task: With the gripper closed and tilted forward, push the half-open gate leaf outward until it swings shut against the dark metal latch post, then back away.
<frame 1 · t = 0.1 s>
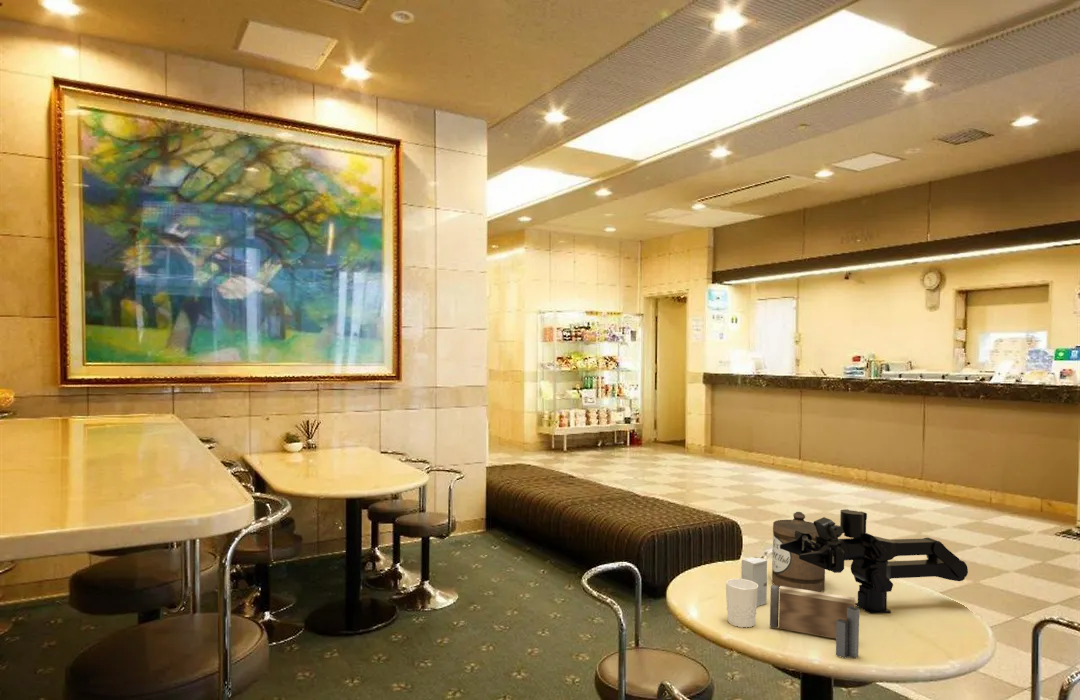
hand: (789, 551, 176), 17 cm above the table, tool horizontal, fingers open, 9 cm apart
wooden container: (797, 586, 198), on the table
gate leaf: (811, 612, 163), point 6 cm above the table, hinge at 25.0°
skincare box: (753, 604, 183), on the table
white cup: (741, 623, 169), on the table
latch post: (852, 656, 151), on the table
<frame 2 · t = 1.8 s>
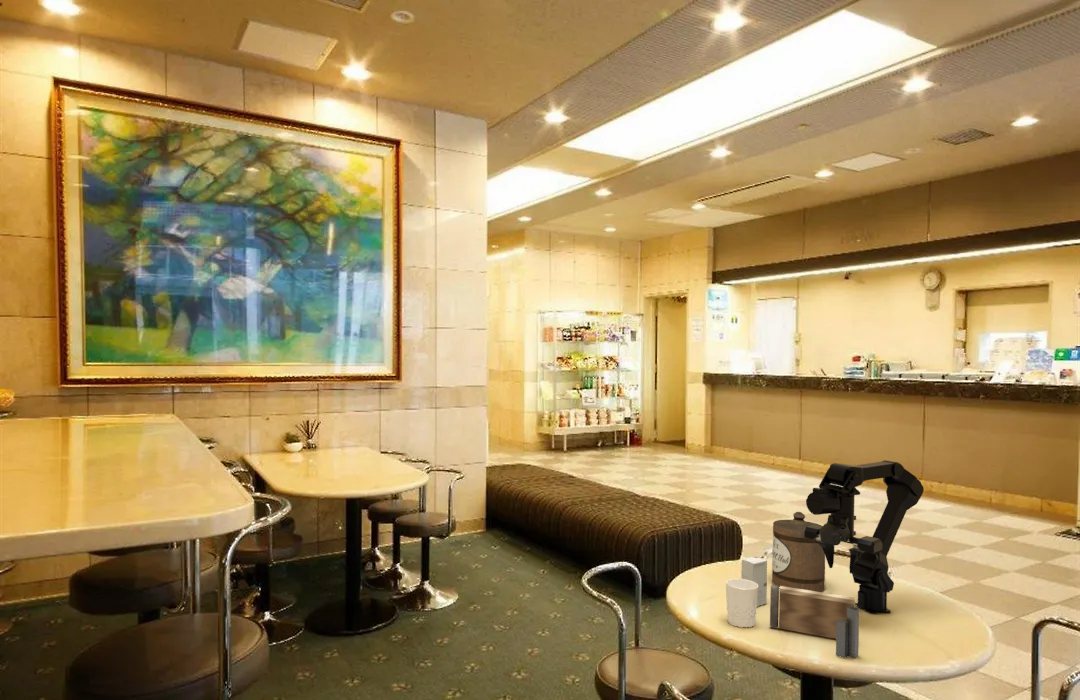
hand: (841, 570, 175), 12 cm above the table, tool pointing down, fingers open, 5 cm apart
nothing on the table moved.
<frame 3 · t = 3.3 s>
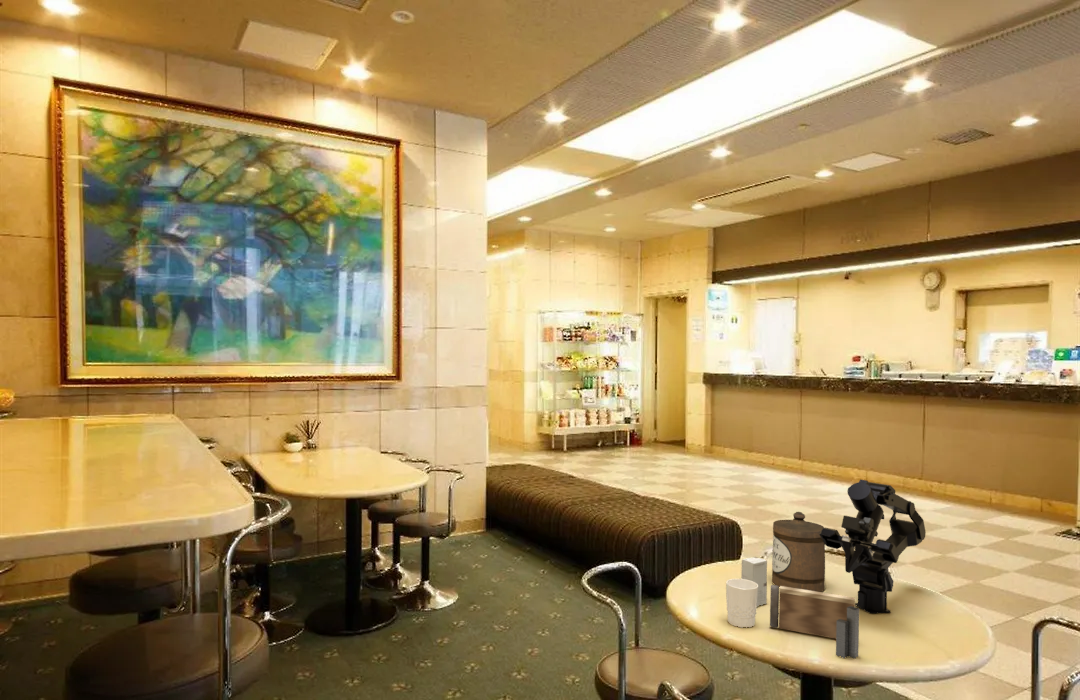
hand: (847, 571, 171), 13 cm above the table, tool tilted 45°, fingers closed
nothing on the table moved.
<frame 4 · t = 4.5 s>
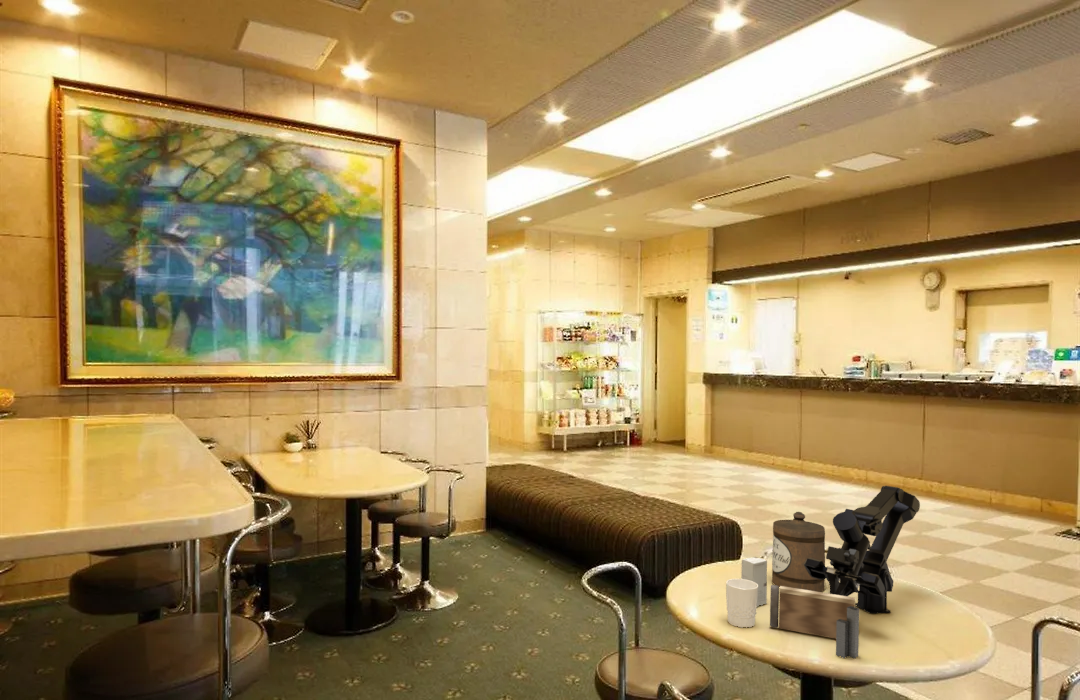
hand: (831, 604, 165), 7 cm above the table, tool tilted 45°, fingers closed
nothing on the table moved.
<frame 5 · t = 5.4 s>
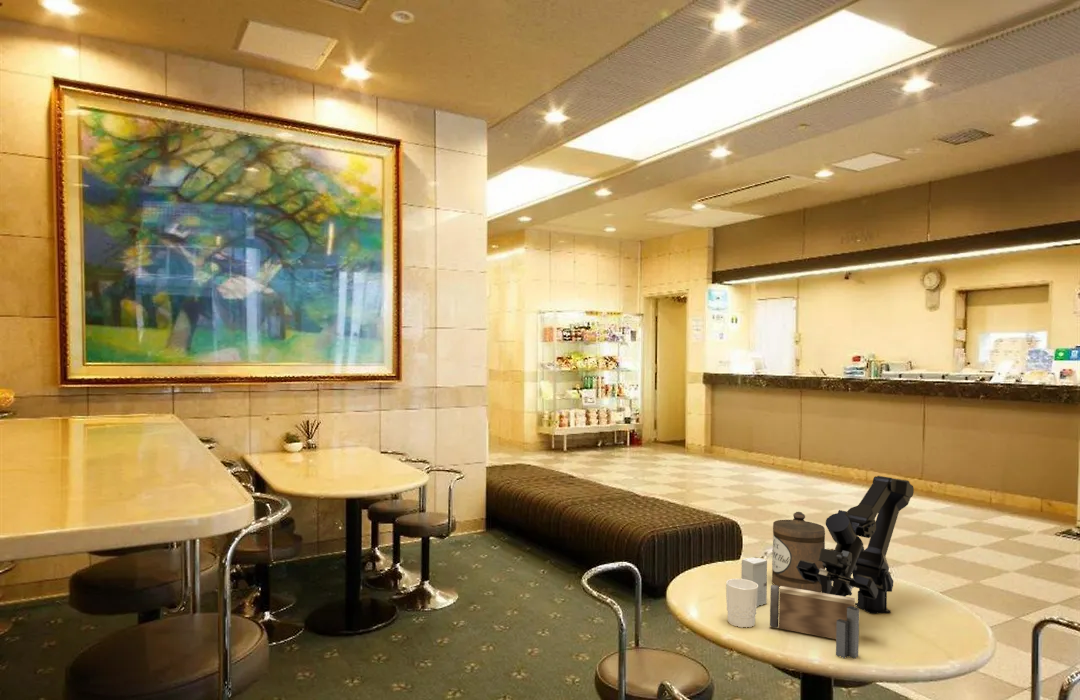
hand: (824, 607, 162), 7 cm above the table, tool tilted 45°, fingers closed
gate leaf: (811, 612, 162), point 6 cm above the table, hinge at 23.7°, touching gripper
everything else where it was.
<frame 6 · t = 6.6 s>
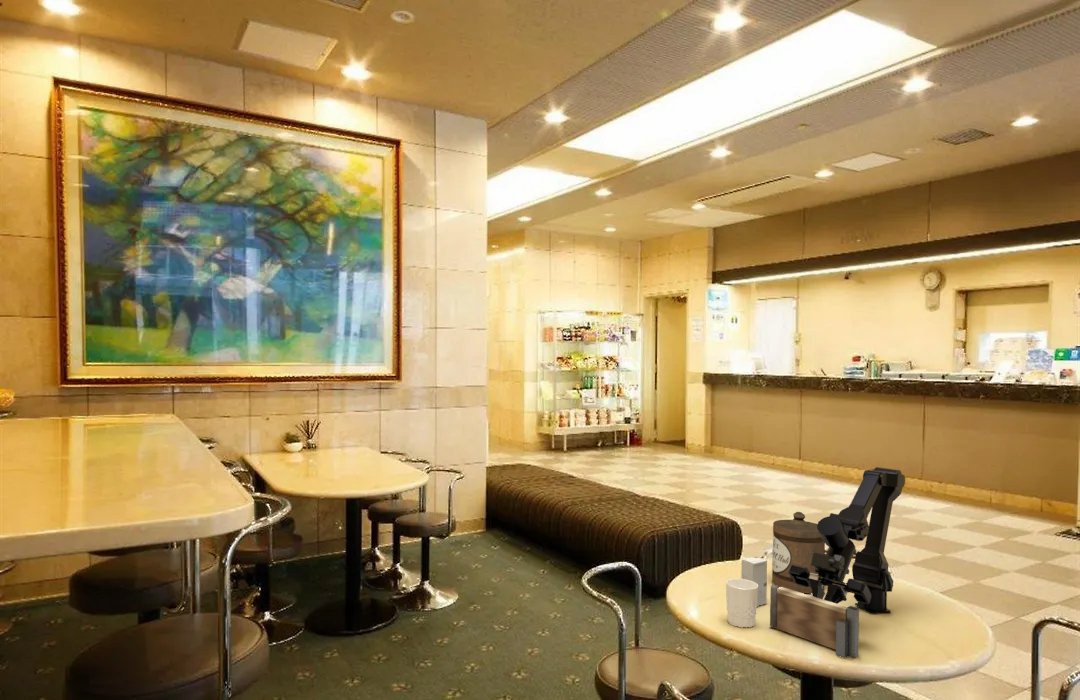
hand: (817, 613, 159), 7 cm above the table, tool tilted 45°, fingers closed on gate leaf
gate leaf: (807, 616, 160), point 6 cm above the table, hinge at -0.1°, touching gripper
everything else where it was.
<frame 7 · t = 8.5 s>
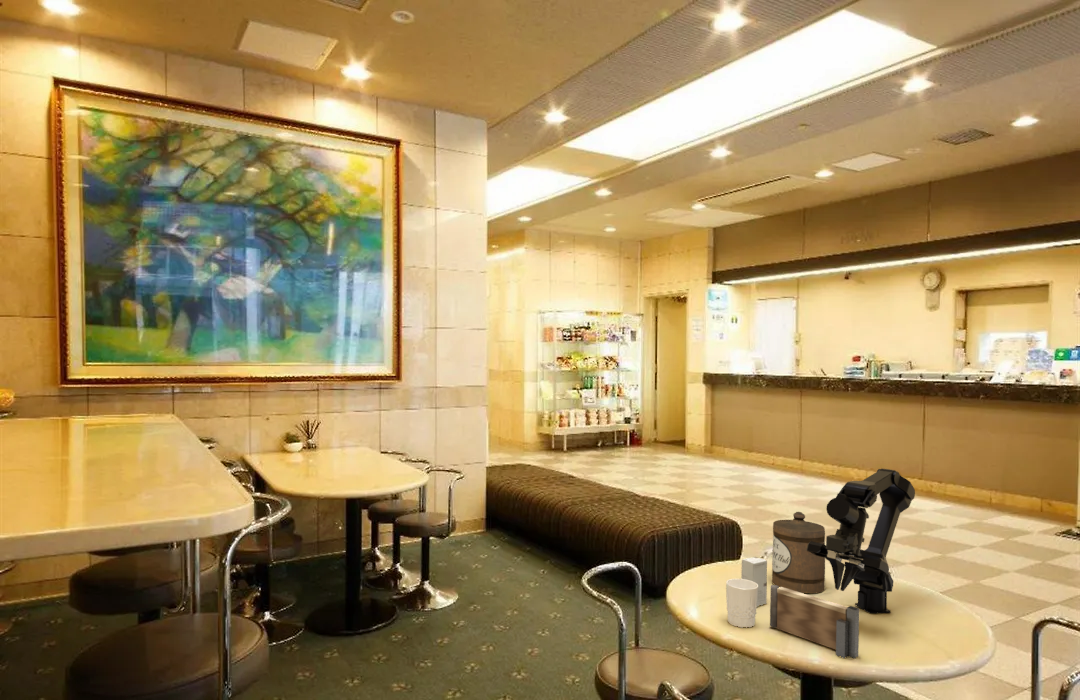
hand: (839, 590, 167), 10 cm above the table, tool tilted 25°, fingers closed
gate leaf: (807, 616, 160), point 6 cm above the table, hinge at -0.1°
everything else where it was.
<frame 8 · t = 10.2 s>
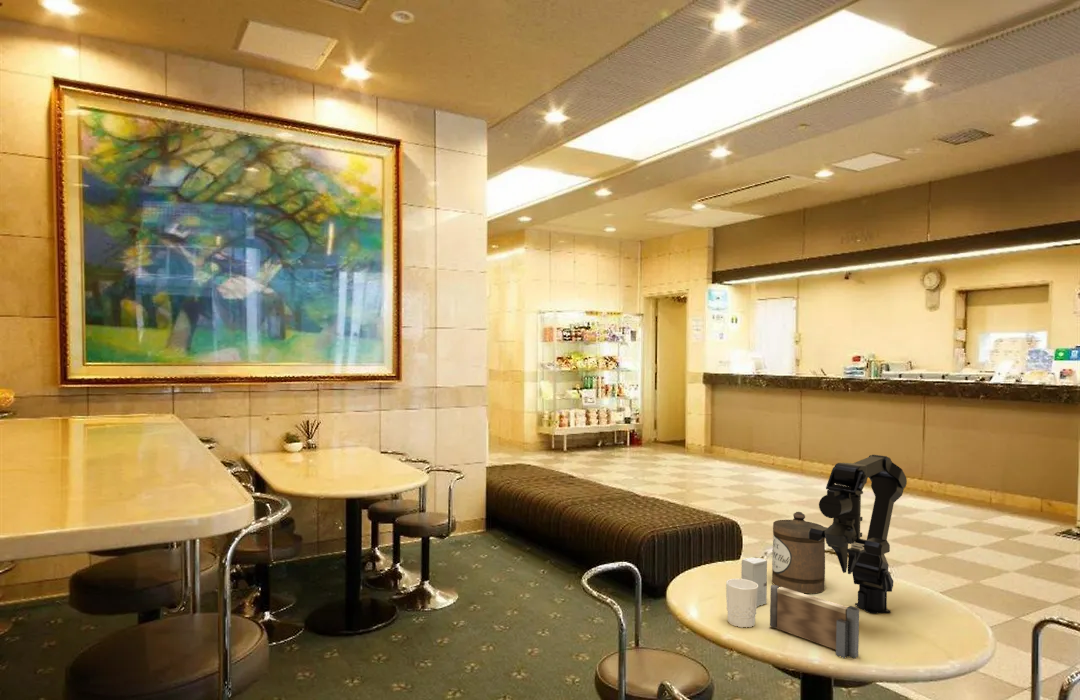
hand: (847, 573, 170), 13 cm above the table, tool pointing down, fingers closed
nothing on the table moved.
at the end: gate leaf at +0° (first picture: +25°); white cup moved 0.2 cm from its start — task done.
